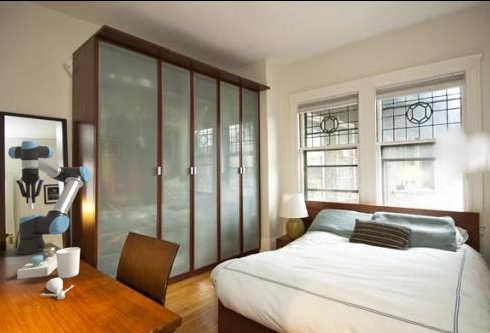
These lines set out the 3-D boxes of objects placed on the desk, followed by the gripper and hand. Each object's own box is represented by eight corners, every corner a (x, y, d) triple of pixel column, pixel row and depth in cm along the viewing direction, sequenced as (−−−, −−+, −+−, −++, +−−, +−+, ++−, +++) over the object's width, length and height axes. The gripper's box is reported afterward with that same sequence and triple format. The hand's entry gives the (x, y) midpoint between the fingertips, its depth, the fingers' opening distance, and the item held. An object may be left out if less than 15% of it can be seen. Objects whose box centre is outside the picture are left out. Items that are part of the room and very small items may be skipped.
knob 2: (46, 259, 151) (45, 247, 151) (56, 258, 153) (56, 246, 153) (42, 262, 146) (41, 249, 146) (53, 261, 148) (53, 248, 148)
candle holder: (85, 271, 136) (84, 247, 136) (70, 279, 127) (70, 253, 127) (66, 271, 137) (66, 247, 137) (51, 278, 128) (50, 253, 128)
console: (40, 262, 152) (40, 255, 152) (65, 259, 155) (64, 252, 155) (17, 279, 128) (17, 270, 128) (47, 275, 131) (47, 267, 132)
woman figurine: (68, 272, 123) (78, 287, 110) (68, 282, 123) (78, 298, 110) (36, 280, 115) (43, 296, 102) (36, 290, 115) (43, 308, 102)
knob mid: (39, 264, 143) (39, 251, 144) (51, 263, 145) (51, 250, 145) (35, 268, 138) (35, 254, 139) (47, 266, 140) (47, 253, 140)
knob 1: (32, 269, 136) (32, 255, 136) (45, 268, 137) (44, 254, 137) (27, 273, 131) (27, 259, 131) (40, 271, 132) (40, 257, 132)
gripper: (13, 168, 151) (14, 210, 151) (41, 167, 155) (41, 209, 155) (19, 168, 158) (20, 208, 158) (46, 167, 162) (46, 207, 162)
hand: (31, 209), depth 156 cm, fingers closed
